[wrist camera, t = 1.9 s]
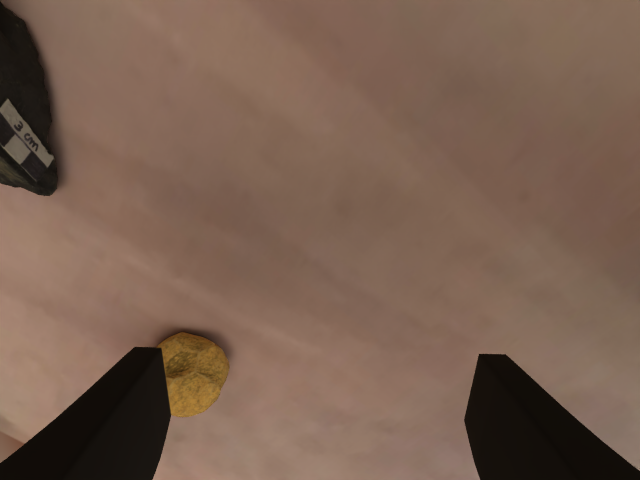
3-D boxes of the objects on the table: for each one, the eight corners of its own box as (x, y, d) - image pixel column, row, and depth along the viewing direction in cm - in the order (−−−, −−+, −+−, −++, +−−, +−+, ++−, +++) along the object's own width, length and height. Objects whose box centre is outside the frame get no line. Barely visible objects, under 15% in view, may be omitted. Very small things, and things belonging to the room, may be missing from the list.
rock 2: (243, 346, 22) (234, 390, 20) (199, 397, 24) (184, 444, 21) (179, 309, 22) (161, 350, 19) (137, 364, 23) (114, 409, 20)
